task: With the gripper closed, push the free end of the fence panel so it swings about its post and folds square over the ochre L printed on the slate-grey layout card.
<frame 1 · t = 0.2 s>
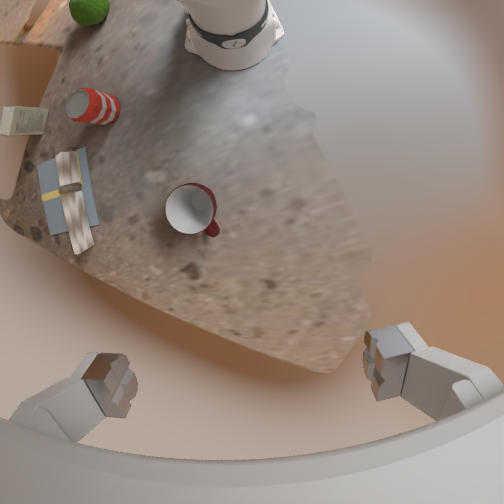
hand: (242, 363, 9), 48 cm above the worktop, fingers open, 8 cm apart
fence panel: (77, 221, 53), point 4 cm above the worktop, hinge at 0.0°
layout card: (65, 192, 54), on the worktop
skincare box: (41, 121, 49), on the worktop
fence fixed: (79, 186, 54), resting on layout card
fruit: (100, 16, 42), on the worktop
beverage can: (108, 110, 49), on the worktop
mug: (205, 205, 55), on the worktop
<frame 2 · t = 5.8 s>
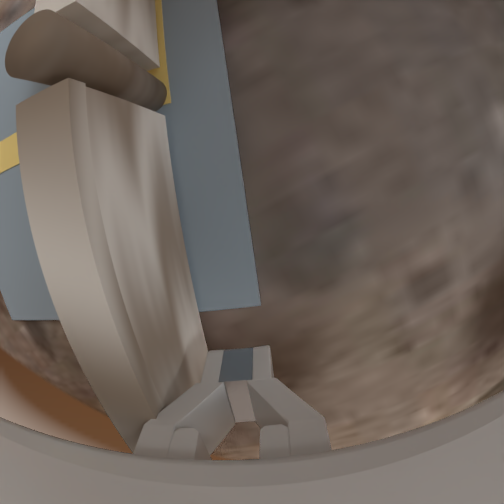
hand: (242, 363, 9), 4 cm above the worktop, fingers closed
fence panel: (150, 312, 8), point 4 cm above the worktop, hinge at -1.1°, touching gripper
layout card: (64, 138, 10), on the worktop
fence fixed: (150, 96, 10), resting on layout card
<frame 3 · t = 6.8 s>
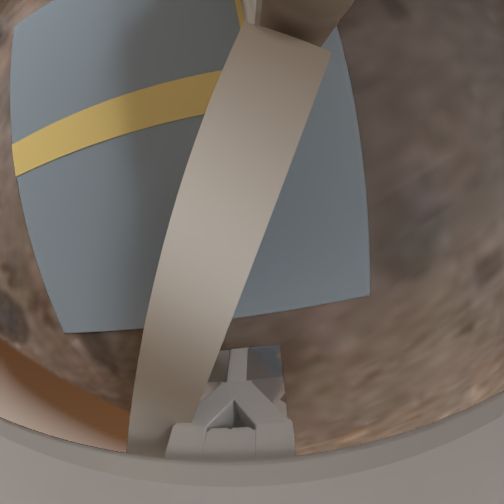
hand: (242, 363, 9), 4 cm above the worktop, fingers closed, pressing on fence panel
fence panel: (196, 295, 8), point 4 cm above the worktop, hinge at -28.7°, touching gripper
layout card: (157, 119, 10), on the worktop
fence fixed: (272, 83, 9), resting on layout card
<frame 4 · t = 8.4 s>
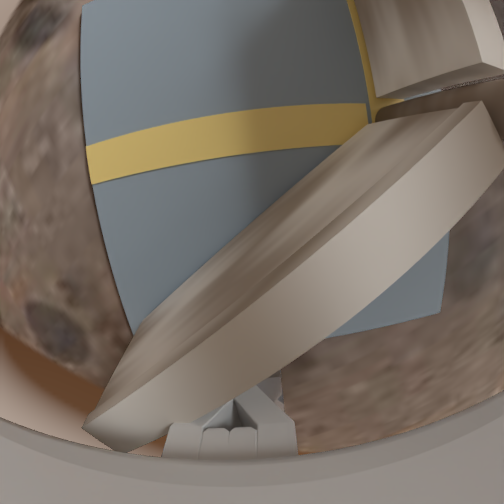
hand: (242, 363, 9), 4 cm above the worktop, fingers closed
fence panel: (260, 271, 8), point 4 cm above the worktop, hinge at -55.8°, touching gripper
layout card: (278, 142, 11), on the worktop
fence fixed: (389, 123, 10), resting on layout card
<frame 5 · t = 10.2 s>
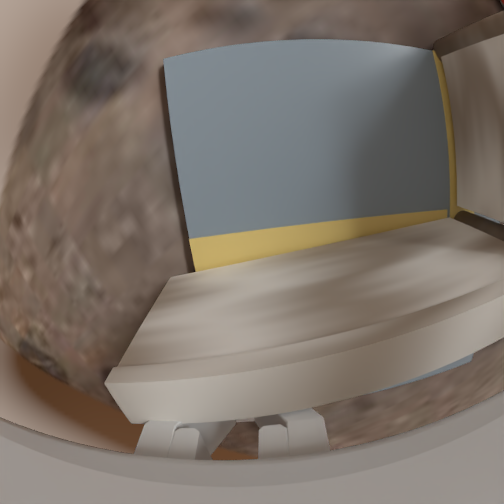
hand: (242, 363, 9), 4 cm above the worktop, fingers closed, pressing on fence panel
fence panel: (347, 297, 8), point 4 cm above the worktop, hinge at -84.9°, touching gripper
layout card: (376, 244, 12), on the worktop
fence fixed: (461, 224, 11), resting on layout card
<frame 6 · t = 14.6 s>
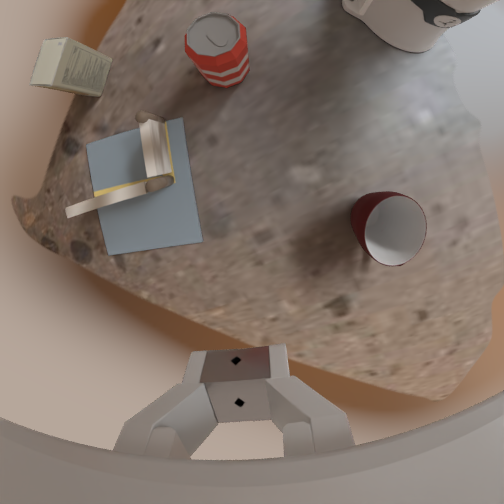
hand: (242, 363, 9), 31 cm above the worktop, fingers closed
fence panel: (113, 197, 35), point 4 cm above the worktop, hinge at -86.2°
layout card: (140, 189, 38), on the worktop
skincare box: (96, 78, 33), on the worktop
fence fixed: (169, 180, 37), resting on layout card
beverage can: (225, 67, 33), on the worktop
mug: (370, 219, 39), on the worktop
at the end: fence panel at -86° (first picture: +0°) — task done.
